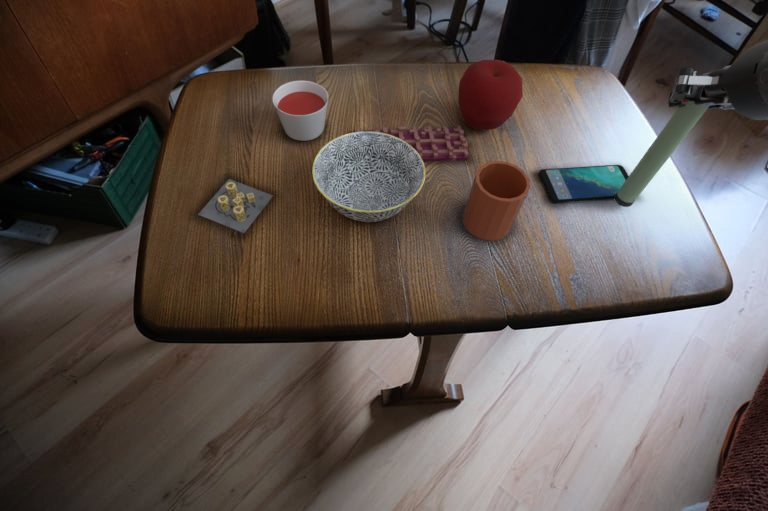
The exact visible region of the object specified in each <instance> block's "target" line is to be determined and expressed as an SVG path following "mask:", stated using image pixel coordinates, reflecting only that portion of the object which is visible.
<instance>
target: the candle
mask: <svg viewBox="0 0 768 511" xmlns="http://www.w3.org/2000/svg"><path fill="white" fill-rule="evenodd" d="M272 104H273V106H274V109H275V111H276V114H277V116H278V118H279V121H280V123H281V126H282V128H283V130H284V132H285V134H286V135H287V136H288V137H289V138H291V139H293V140H295V141H300V142H307V141H313V140H315V139H317V138H318V137H320V136H321V135H322V134H323V132H324V130H325V126H326V119H327V113H328V105H329V93H328V91H327V90H326V88H324V86H322V85H320V84H319V83H316V82H315V81H310V80H292V81H289V82H286V83H283V84H282V85H280V86H279V87H278V88H276V90H275V91H274V93H273V94H272Z"/></svg>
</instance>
